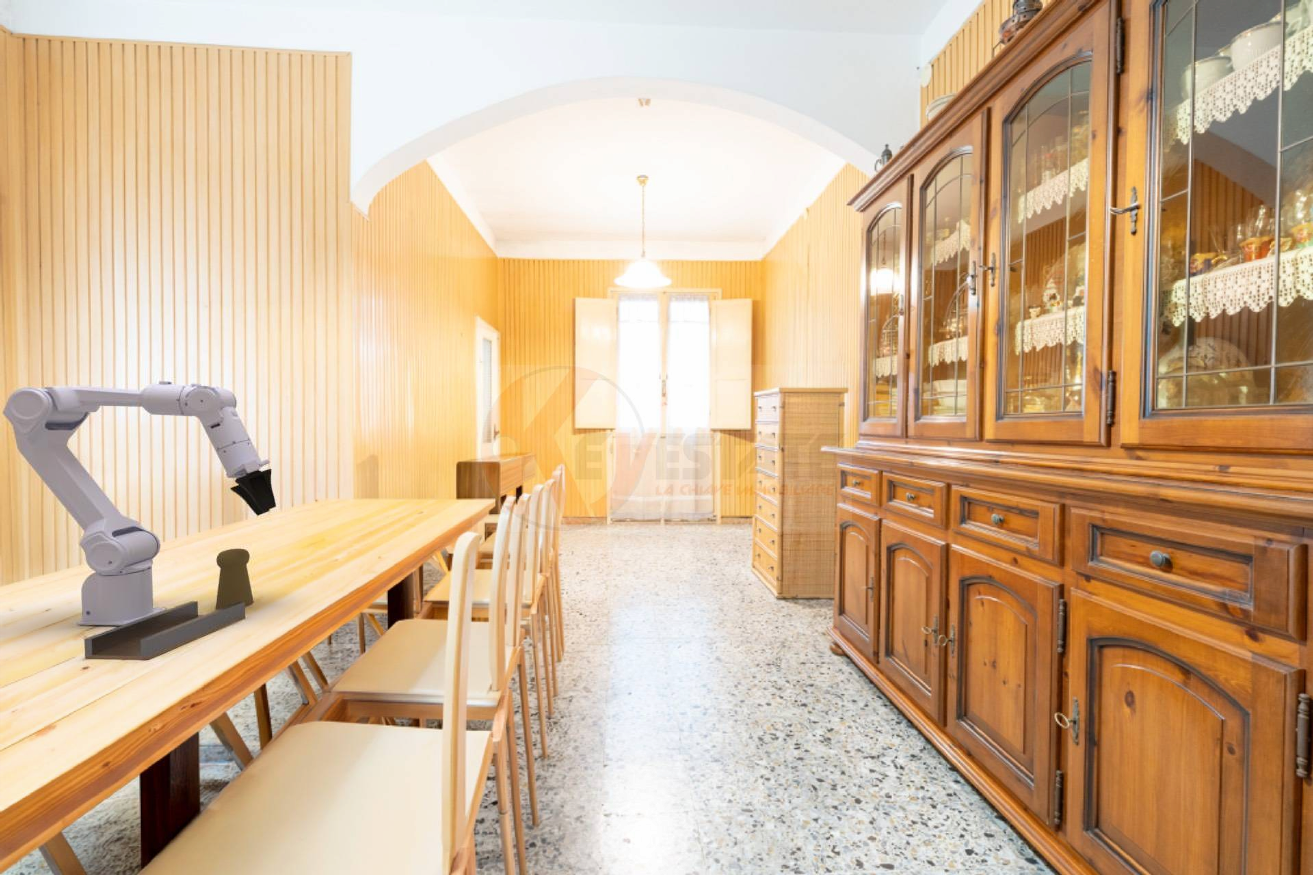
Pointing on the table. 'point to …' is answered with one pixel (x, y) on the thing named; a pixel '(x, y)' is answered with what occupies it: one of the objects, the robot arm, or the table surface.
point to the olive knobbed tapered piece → (233, 578)
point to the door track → (160, 632)
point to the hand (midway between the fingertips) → (266, 511)
